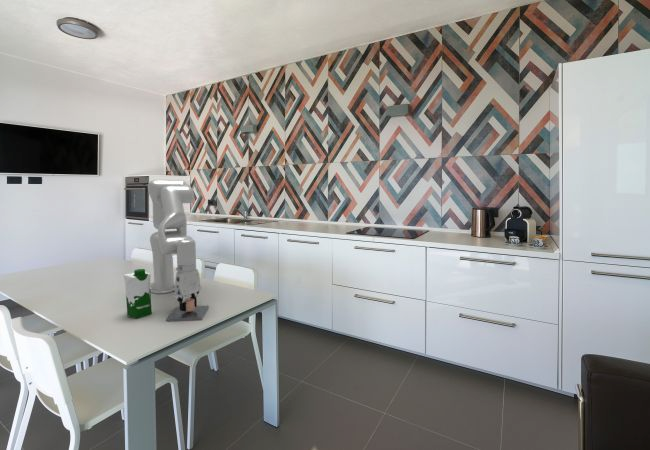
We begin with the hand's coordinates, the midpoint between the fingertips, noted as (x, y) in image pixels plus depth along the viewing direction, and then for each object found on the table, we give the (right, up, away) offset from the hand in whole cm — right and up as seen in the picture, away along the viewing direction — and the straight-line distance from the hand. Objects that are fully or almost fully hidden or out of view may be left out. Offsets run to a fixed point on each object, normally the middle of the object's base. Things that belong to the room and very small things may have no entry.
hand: (188, 308), depth 145 cm
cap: (0, -1, 0) cm, 1 cm away
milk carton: (-21, -3, 0) cm, 21 cm away
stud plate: (0, -3, 0) cm, 3 cm away
